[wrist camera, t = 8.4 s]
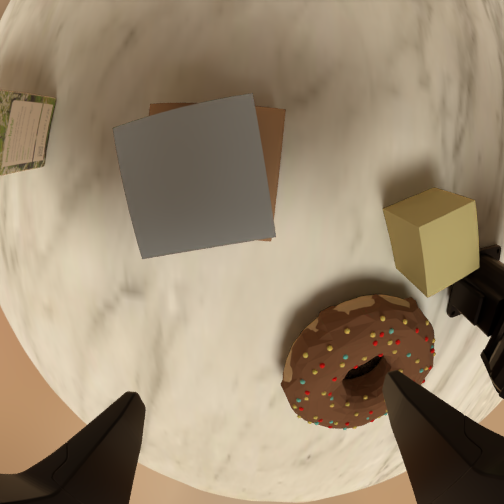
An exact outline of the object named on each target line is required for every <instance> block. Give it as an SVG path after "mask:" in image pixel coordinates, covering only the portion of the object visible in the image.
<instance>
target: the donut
mask: <svg viewBox="0 0 504 504" xmlns="http://www.w3.org/2000/svg"><path fill="white" fill-rule="evenodd" d="M434 342H435V339H434V330H433V327H432V325H431V323H430V322H429V321H428V319H427V318H426V317H425V316H424V314H423V313H422V311H421V310H420V309H419V308H418V305H417V303H416V300H414V299H413V298H411V297H410V298H406V299H401V298H398V297H393V296H388V295H383V294H380V295H377V294H374V295H369V296H361V297H358V298H355V299H352V300H349V301H346V302H343V303H340V304H339V305H337V306H330V307H328V308H326V309H325V310H323V311H321V312H320V314H319V316H318V318H316V319H315V320H314V321H313V322H312V323H311V324H309V325H308V326H307V327H306V328H305V329H304V330H303V331H302V333H301V334H300V335H299V337H298V338H297V339H296V341H295V342H294V343H293V345H292V347H291V350H290V352H289V355H288V357H287V360H286V364H285V368H284V372H283V380H282V382H281V386H282V388H283V390H284V392H285V394H286V397H287V399H288V401H289V403H290V406H291V408H292V409H293V410H294V412H295V413H296V414H298V416H297V417H298V418H303V419H304V420H306V421H308V423H309V424H311V423H314V424H315V425H322V426H325V427H328V428H343V430H346V429H347V428H353V429H355V428H356V427H357V426H362V425H365V424H367V423H369V422H373V421H374V420H375V419H376V418H380V417H381V416H382V415H387V413H388V412H387V408H386V404H385V400H384V396H383V391H382V388H383V384H384V380H385V376H386V374H387V372H390V371H394V370H398V371H400V372H401V373H403V374H404V375H406V376H407V377H409V378H410V379H412V380H413V381H415V382H416V383H418V384H419V385H421V384H422V383H424V382H425V377H426V376H427V374H428V373H429V371H430V370H431V369H432V367H433V358H434V356H435V354H436V353H435V352H434V351H435V350H434ZM375 356H379V357H382V356H383V357H382V359H381V361H380V362H379V364H378V365H377V366H376V367H375V368H374V369H373V370H371V371H370V372H368V373H367V374H364V375H362V376H360V377H356V378H352V379H344V378H345V376H346V374H347V373H348V371H349V370H351V369H353V368H354V369H356V368H358V366H360V365H363V364H365V363H366V362H368V361H369V360H371V359H372V358H374V357H375Z"/></svg>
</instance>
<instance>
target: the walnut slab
mask: <svg viewBox="0 0 504 504" xmlns="http://www.w3.org/2000/svg"><path fill="white" fill-rule="evenodd" d="M193 104H197V103H156V104H150V111H149V116H151V115H155V114H158V113H162V112H165V111H169V110H173V109H177V108H181V107H185V106H189V105H193ZM255 109H256V115H257V121H258V126H259V132H260V138H261V144H262V150H263V156H264V162H265V168H266V174H267V181H268V187H269V193H270V200H271V206H272V213H273V220H274V213H275V205H276V196H277V187H278V178H279V169H280V160H281V150H282V141H283V131H284V121H285V111H286V110H285V109H277V108H269V107H259V106H255ZM271 239H272V238H267V239H261V241H271Z"/></svg>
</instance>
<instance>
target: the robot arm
mask: <svg viewBox="0 0 504 504" xmlns="http://www.w3.org/2000/svg"><path fill="white" fill-rule="evenodd" d="M500 253H501V247H500V246H499V245H493V246H489V247H484V248H480V249H479V268H478V269H476V270H475V271H473V272H472V273H470V274H468V275H467V276H465V277H464V278H462V279H460V280H458V281H457V282H455V283H453V287H452V292H451V297H450V302H449V307H448V312H447V314H448V316H449V317H455V316H458V315H460V314H463V315H464V316H465V317H466V318H467V319H468V320H469V321H470V322H471V323H472V324H473V325H474V326H475V325H477V326H478V327H479V328H480V329H481V330H482V331H483V332H484V333H485V334H486V335H487V337H489V336H491V337H490V339H489V341H488V343H487V345H486V347H485V349H484V350H483V351H482V353H481V355H480V356H481V358H482V360H483V362H484V364H485V367H486V369H487V371H488V373H489V376H490V379H491V381H492V383H493V385H494V387H495V389H496V391H497V392H498V393H499V396H500V397H501V398H503V399H504V264H503V263H502V262H500V261H499V259H500ZM382 391H383V396H384V400H385V404H386V408H387V412H388V416H389V420H390V424H391V427H392V430H393V433H394V436H395V438H396V441H397V444H398V447H399V449H400V452H401V455H402V458H403V461H404V464H405V467H406V470H407V473H408V476H409V479H410V482H411V485H412V488H413V491H414V494H415V498H416V501H417V504H504V437H503V436H501V435H499V434H497V433H494V432H493V431H491V430H489V429H487V428H485V427H483V426H481V425H479V424H478V423H476V422H475V421H473V420H472V419H470V418H469V417H467V416H464V414H462V413H461V412H459V411H458V410H456V409H455V408H453V407H452V406H450V405H449V404H447V403H446V402H444V401H443V400H441V399H440V398H438V397H437V396H435V395H434V394H432V393H431V392H429V391H428V390H427V389H425V388H424V387H422V386H421V385H419V384H418V383H416V382H415V381H413V380H412V379H410V378H409V377H407V376H406V375H404V374H403V373H401V372H400V371H398V370H394V371H390V372H387V374H386V376H385V380H384V384H383V388H382ZM145 411H146V409H145V405H144V403H143V402H142V400H141V398H140V396H139V394H138V393H137V392H130V391H128V392H126V393H124V394H123V395H122V396H121V397H120V398H118V399H117V400H116V401H115V402H114V403H113V404H111V405H110V406H109V407H108V408H107V409H106V410H104V411H103V412H102V413H101V414H100V415H99V416H97V417H96V418H95V419H94V420H93V421H91V422H90V423H89V424H88V425H87V426H86V427H84V428H83V429H82V430H81V431H79V432H78V433H77V434H76V435H75V436H73V437H72V438H71V439H70V440H69V441H67V443H65V444H64V445H62V446H61V447H60V448H59V449H57V450H56V451H55V452H54V453H52V454H51V455H49V456H48V457H46V458H45V459H43V460H42V461H40V462H39V463H37V464H35V465H34V466H32V467H30V468H29V469H27V470H26V471H24V472H21V473H18V474H0V504H129V500H130V495H131V490H132V485H133V480H134V475H135V470H136V466H137V462H138V457H139V453H140V449H141V444H142V436H143V427H144V419H145Z"/></svg>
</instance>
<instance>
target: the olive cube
mask: <svg viewBox="0 0 504 504" xmlns="http://www.w3.org/2000/svg"><path fill="white" fill-rule="evenodd" d="M383 212H384V216H385V220H386V224H387V228H388V232H389V237H390V241H391V246H392V251H393V256H394V261H395V266H396V269H398V270H399V271H400V272H401V273H402V274H403V275H404V276H405V277H406V278H407V279H408V280H409V281H410V282H412V283H413V284H414V285H415V286H416V287H417V288H418V289H419V290H420V291H421V292H422V293H423V294H424V295H425V296H426V297H427V298H428V297H430V296H432V295H434V294H436V293H438V292H439V291H441V290H443V289H445V288H446V287H448V286H450V285H452V284H453V283H455V282H457V281H458V280H460V279H462V278H464V277H465V276H467V275H468V274H470V273H472V272H473V271H475V270H476V269H478V268H479V237H478V223H477V212H476V204H475V200H473V199H470V198H467V197H464V196H461V195H457V194H454V193H451V192H448V191H445V190H441V189H438V188H431V189H429V190H426V191H424V192H422V193H419V194H417V195H414V196H412V197H410V198H407V199H405V200H402V201H400V202H398V203H395V204H393V205H390V206H388V207H386V208H383Z"/></svg>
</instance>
